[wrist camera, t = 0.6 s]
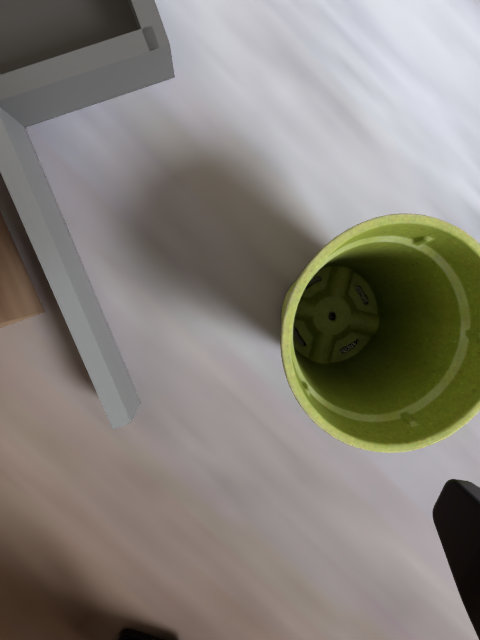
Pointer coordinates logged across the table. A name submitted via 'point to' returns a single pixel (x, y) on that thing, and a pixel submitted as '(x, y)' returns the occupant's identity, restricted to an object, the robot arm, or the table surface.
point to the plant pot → (388, 334)
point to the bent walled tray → (57, 99)
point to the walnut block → (14, 283)
